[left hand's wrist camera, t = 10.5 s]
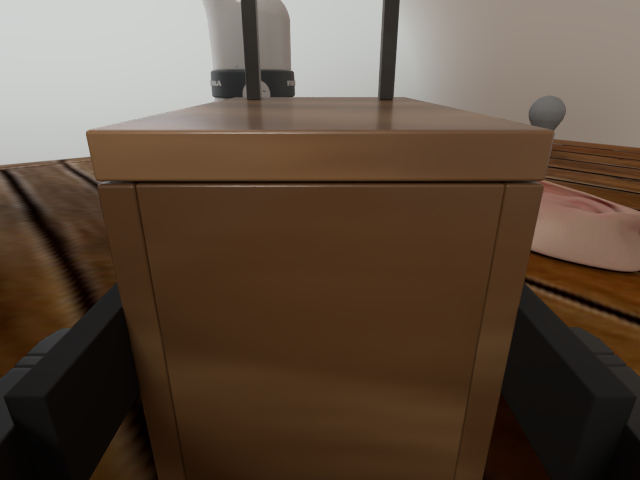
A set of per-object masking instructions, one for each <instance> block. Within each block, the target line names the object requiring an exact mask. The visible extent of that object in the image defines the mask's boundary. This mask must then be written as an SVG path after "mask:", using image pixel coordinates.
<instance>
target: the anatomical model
mask: <svg viewBox="0 0 640 480" xmlns="http://www.w3.org/2000/svg"><path fill="white" fill-rule="evenodd" d="M537 182H539V183H541V184H543V185H544V190H543V194H542V199H541V204H540V208H539V213H538V218H537V223H536V227H535V232H534V237H533V242H532V246H531V250H532V251H534V252H537V253H540V254H544V255H547V256H550V257H554V258H557V259H561V260H565V261H570V262H574V263H578V264H583V265H588V266H592V267H597V268H603V269H608V270H615V271H623V272H635V271H639V270H640V235H639V232H640V211H637V210H634V209H631V208H628V207H625V206H622V205H619V204H616V203H613V202H610V201H607V200H605V199H602V198H599V197H596V196H594V195H591V194H588V193H585V192H581V191H578V190H574V189H571V188H568V187H564V186H561V185H558V184H554V183H551V182H547V181H544V180H543V181H537Z"/></svg>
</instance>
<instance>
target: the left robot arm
mask: <svg viewBox="0 0 640 480" xmlns="http://www.w3.org/2000/svg"><path fill="white" fill-rule="evenodd" d="M139 392H140V389H139V384H138V379H137V375H136V370H135V365H134V360H133V356H132V351H131V346H130V341H129V337H128V332H127V327H126V322H125V317H124V313H123V308H122V303H121V298H120V294H119V289H118V284H117V283H116V284H115V285H114V286H113V287H112V288H111V289H110V290H109V291H108V292H107V293H106V294H105V295H104V296H103V297H102V298H101V299H100V300H99V301H98V302H97V303H96V304H95V305H94V306H93V307H92V308H91V309H90V310H89V311H88V312H87V313H86V314H85V315H84V316H83V317H82V318H81V319H80V320H79V321H78V322H77V323H76V324H75V325H74V326H73V327H72V328H71V329H60V330H58V331H57V332H55V333H53V334H51V335H50V336H48V337H46V338H45V339H43V340H41V341H40V342H39V343H38V344H37V345H36V346H35V347H34V348H33V349H32V350H31V351H30V352H29V353H27V357H23V358H22V359H21V360H20V361H19V362H18V363H17V364H16V365H15V368H12V369H11V370H9V371H8V372H7V373H6V374H5V375H4V376H3V377H2V378H1V379H0V480H89V479H90V477H91V476H92V474H93V472H94V470H95V469H96V467H97V465H98V463H99V462H100V460H101V458H102V456H103V455H104V453H105V451H106V449H107V448H108V446H109V444H110V442H111V441H112V439H113V437H114V435H115V434H116V432H117V430H118V428H119V427H120V425H121V423H122V421H123V420H124V418H125V416H126V415H127V413H128V411H129V409H130V408H131V406H132V404H133V402H134V401H135V399H136V397H137V395H138V394H139ZM501 393H502V395H503V396H504V398H505V400H506V402H507V403H508V405H509V407H510V409H511V410H512V412H513V414H514V415H515V417H516V419H517V421H518V422H519V424H520V426H521V428H522V429H523V431H524V433H525V435H526V436H527V438H528V440H529V442H530V443H531V445H532V447H533V449H534V450H535V452H536V454H537V456H538V457H539V459H540V461H541V463H542V464H543V466H544V468H545V470H546V471H547V473H548V475H549V476H550V478H551V480H606V479H608V480H640V377H639V376H638V375H637V374H636V373H635V372H634V371H633V370H632V369H631V368H630V367H626V363H625V362H623V361H622V360H621V359H620V358H619V357H618V356H617V355H614V352H613V351H612V350H611V349H610V348H609V347H607V346H606V345H605V344H604V343H603V342H602V341H601V340H600V339H599V338H597V337H595V336H593V335H592V334H590V333H588V332H587V331H585V330H583V329H581V328H580V327H568V326H567V325H566V324H565V323H564V322H563V321H562V320H561V319H560V318H559V317H558V316H557V315H556V314H555V313H554V312H553V311H552V310H551V309H550V308H549V307H548V306H547V305H546V304H545V303H544V302H543V301H542V300H541V299H540V298H539V297H538V296H537V295H536V294H535V293H534V292H533V291H532V290H531V289H530V288H529V287H528V286H527V285H526V284H525V283H524V284H523V289H522V294H521V299H520V303H519V307H518V311H517V316H516V321H515V326H514V330H513V335H512V340H511V345H510V349H509V354H508V359H507V364H506V368H505V373H504V378H503V382H502V387H501Z"/></svg>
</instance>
